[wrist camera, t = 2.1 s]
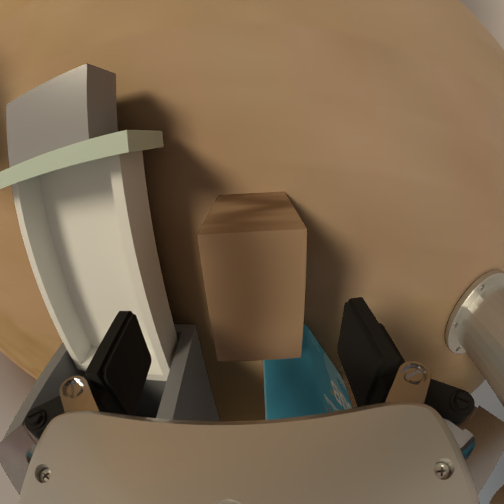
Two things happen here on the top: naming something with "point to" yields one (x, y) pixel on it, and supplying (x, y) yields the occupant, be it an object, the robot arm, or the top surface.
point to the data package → (303, 383)
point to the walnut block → (254, 276)
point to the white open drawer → (87, 213)
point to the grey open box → (154, 391)
